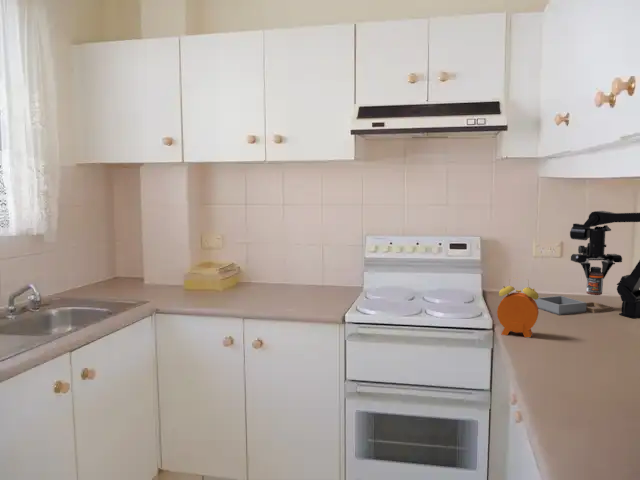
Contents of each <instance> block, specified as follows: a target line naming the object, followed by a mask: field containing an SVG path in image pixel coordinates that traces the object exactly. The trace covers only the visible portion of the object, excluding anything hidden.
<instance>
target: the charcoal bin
mask: <svg viewBox="0 0 640 480" xmlns="http://www.w3.org/2000/svg"><path fill="white" fill-rule="evenodd" d="M534 301H535V302H536V304H537V306H538V310H541V311H544V312H548V313H551V314H554V315H557V316H565V315H572V314H573V315H574V314H581V313H587V311H586V305H587V303H588V302H586V301H582V300H579V299H574V298H571V297H567V296H566V295H565V296H563V295H554V296H553V295H552V296H543V297H538V299H537V300H536V299H534Z"/></svg>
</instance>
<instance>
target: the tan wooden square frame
mask: <svg viewBox="0 0 640 480" xmlns="http://www.w3.org/2000/svg"><path fill="white" fill-rule="evenodd" d="M586 303H587V305H586V312H590V313H593V314H596V313H604V312H612V311H614V307H613V306H610V305H607V304H603V303H599V302H595V301H592V302H591V301H589V302H586ZM593 307H595V308H593Z"/></svg>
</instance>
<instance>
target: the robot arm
mask: <svg viewBox="0 0 640 480" xmlns="http://www.w3.org/2000/svg"><path fill="white" fill-rule="evenodd" d="M614 223H640V212H612V211H605V210H597V211H591V212H590V214H589V215H588V218H587V219H586V221H585V222H584V223H583V224H582V223H573V224H572V227H571V229H570V231H569V236H570V237H569V238H570V239H571V240H577V241H587V240H589V242H588V243H587V246H585V245H578V249H577V252H578V253H573V254H571V256H570V261H572V262H575V263H578V264H580V265H581V267H582V269H583V271H584V275H585V277H586V280H587V279H589V274H590V271H591V270H590V269H591V262H589V261H601V265H602V267H601V272H602V273H603V280H604V279H605V278H606V276H607V275H608V273H609V271H610V269H611V268H612V267H613V266H614V265H615V264H616V263H623V256H622V255H621V254H617V253H606V254H605V248H607V244H606V232H611V231H612V229H611V228H610V227H609V226H608V225H607V224H614ZM601 225H603V226H601ZM616 285H617V286H616V292H617V293H618V295H619V297H620V299H621V302H622V303H621V311H620V312H619V313H618V315H620V316H623V317H627V318H631V319H637V318H640V259H639V260H638V262H637V263H636V264H635V267H634V268H633V269H632V271H631V272H630V274H626V275H623V276H621V278H620V280H619V282H618V283H617V284H616Z"/></svg>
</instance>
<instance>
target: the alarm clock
mask: <svg viewBox="0 0 640 480" xmlns="http://www.w3.org/2000/svg"><path fill="white" fill-rule="evenodd" d="M514 279H516V280H519V278H518V277H517V278H516V277H514ZM508 281H509V283H508V284H510V281H511V280H508ZM527 281H528V283H527V284H528V287H524V288H523V289H522V290H521V289H520V290H519V289H516V290H515V288H514V286H512V285H507V286H505V285H504V286H503V288H501V289H500V290H499V292H498V296H499V297H503V296H504V297H503V298H502V299H501V301H500V303H499V304H498V306H497V309H496V310H497V311H496V314H497V319H498V322H499V323H500V324H501V326H502V327H504V328H503V330H502V332H501V335H502V336H508V335H509V333H510V332H513V333H517V334H518V333H522V334H523V336H524V338H526V337H531V335H532V333H533V331H532V328H533V327H534V325H536V322H537V320H538V317H539V313H540V312H539V309H538V306H537V304H536V302H535V299H536V300H537V299H538V298H540V297H539V293H538V292H537V291H536V290H535V288H534V287H533V288H531V287H529V286H530V285H529V279H527ZM513 291H515V292H513ZM532 336H533V335H532Z"/></svg>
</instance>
